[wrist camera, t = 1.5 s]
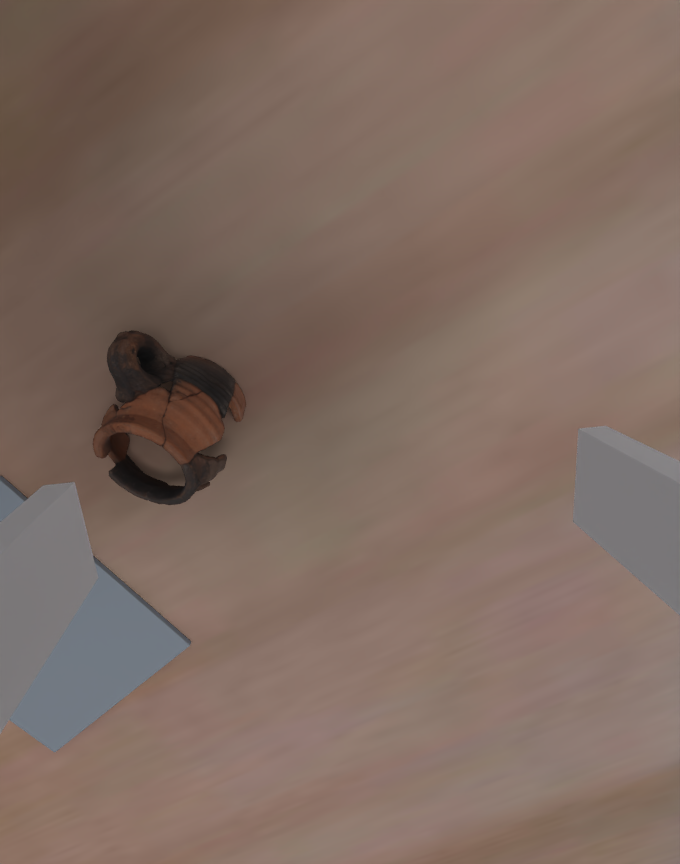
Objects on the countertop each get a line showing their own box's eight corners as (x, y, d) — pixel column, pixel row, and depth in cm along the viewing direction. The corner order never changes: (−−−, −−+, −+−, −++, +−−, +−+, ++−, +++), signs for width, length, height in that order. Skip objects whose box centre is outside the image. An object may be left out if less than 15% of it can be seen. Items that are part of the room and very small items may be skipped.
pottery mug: (275, 431, 41) (233, 509, 35) (181, 447, 45) (128, 519, 38) (196, 290, 34) (128, 354, 28) (95, 323, 38) (15, 386, 32)
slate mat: (-143, 602, 41) (-148, 606, 40) (1, 475, 39) (-3, 477, 39) (57, 747, 46) (54, 752, 46) (191, 641, 44) (190, 645, 44)
